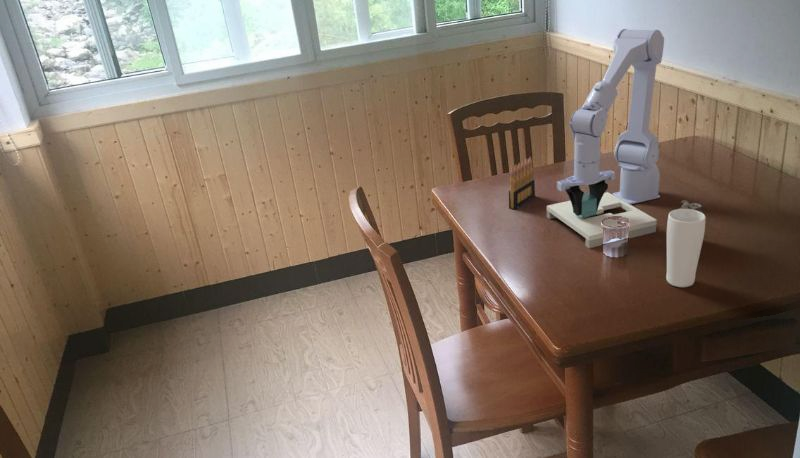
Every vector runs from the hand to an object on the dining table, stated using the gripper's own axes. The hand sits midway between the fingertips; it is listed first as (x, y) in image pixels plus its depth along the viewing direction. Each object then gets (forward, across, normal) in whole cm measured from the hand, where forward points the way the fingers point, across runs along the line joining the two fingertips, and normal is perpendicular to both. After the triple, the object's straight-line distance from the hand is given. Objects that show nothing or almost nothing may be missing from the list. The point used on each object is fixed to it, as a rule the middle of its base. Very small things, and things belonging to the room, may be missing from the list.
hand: (585, 212), depth 151 cm
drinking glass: (+4, -3, +31) cm, 31 cm away
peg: (+4, 0, 0) cm, 4 cm away
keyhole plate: (+4, -4, 0) cm, 6 cm away
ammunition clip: (+4, +6, -22) cm, 23 cm away
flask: (+4, -14, +18) cm, 23 cm away
